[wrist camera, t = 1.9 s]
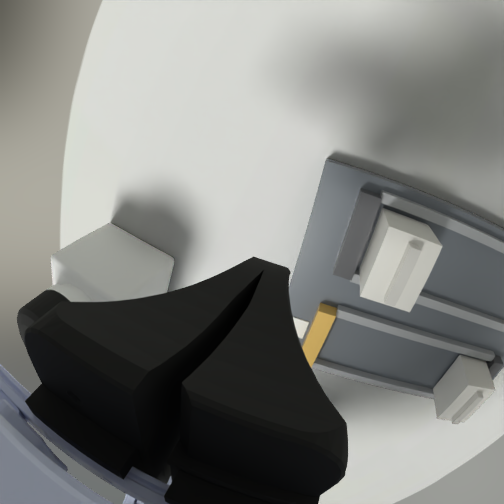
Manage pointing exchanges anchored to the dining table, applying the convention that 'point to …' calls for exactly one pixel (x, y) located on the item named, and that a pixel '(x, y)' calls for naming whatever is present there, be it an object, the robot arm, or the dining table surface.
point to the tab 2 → (463, 389)
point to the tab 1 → (398, 260)
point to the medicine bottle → (101, 273)
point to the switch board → (386, 317)
